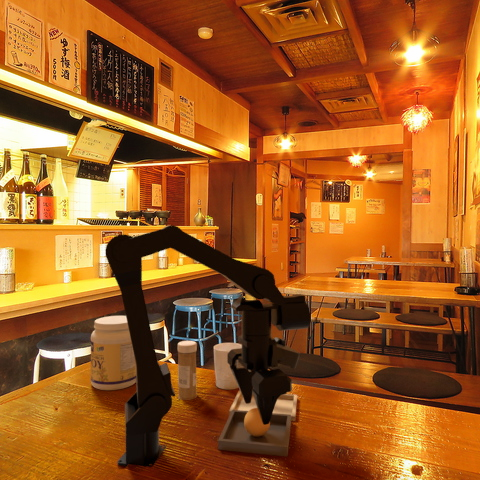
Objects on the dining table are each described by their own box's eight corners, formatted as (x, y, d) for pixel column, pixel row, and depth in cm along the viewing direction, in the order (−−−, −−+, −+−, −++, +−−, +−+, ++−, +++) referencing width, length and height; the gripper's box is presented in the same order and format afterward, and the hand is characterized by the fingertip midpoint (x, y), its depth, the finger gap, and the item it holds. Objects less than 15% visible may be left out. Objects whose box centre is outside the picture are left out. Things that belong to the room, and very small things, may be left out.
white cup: (245, 379, 104) (244, 342, 104) (242, 391, 96) (242, 351, 96) (216, 378, 105) (216, 342, 105) (211, 390, 97) (211, 350, 97)
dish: (287, 459, 67) (287, 447, 67) (218, 452, 69) (218, 440, 69) (291, 425, 79) (291, 414, 79) (232, 420, 81) (232, 409, 81)
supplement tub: (81, 384, 101) (80, 320, 101) (120, 371, 111) (120, 313, 111) (108, 396, 94) (108, 327, 94) (148, 381, 103) (148, 318, 103)
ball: (268, 443, 71) (268, 416, 71) (242, 440, 72) (241, 414, 72) (271, 429, 76) (271, 404, 76) (246, 427, 77) (246, 402, 77)
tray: (295, 423, 80) (295, 416, 80) (229, 418, 82) (229, 411, 82) (297, 401, 91) (297, 394, 91) (238, 396, 93) (238, 390, 93)
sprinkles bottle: (200, 398, 92) (200, 342, 92) (185, 404, 89) (185, 346, 89) (189, 392, 96) (189, 338, 95) (174, 398, 92) (173, 342, 92)
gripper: (318, 341, 68) (318, 429, 68) (274, 319, 85) (274, 389, 86) (260, 347, 64) (260, 440, 64) (226, 323, 82) (226, 396, 82)
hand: (256, 413), depth 74 cm, fingers open, 9 cm apart
